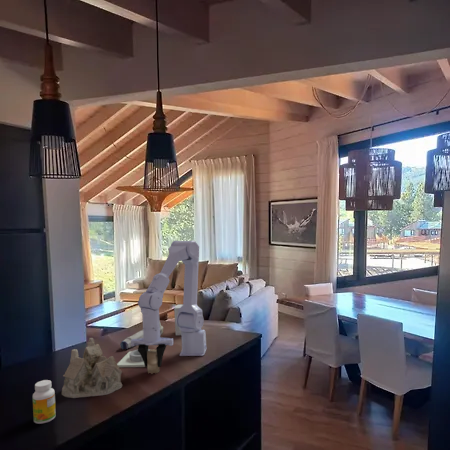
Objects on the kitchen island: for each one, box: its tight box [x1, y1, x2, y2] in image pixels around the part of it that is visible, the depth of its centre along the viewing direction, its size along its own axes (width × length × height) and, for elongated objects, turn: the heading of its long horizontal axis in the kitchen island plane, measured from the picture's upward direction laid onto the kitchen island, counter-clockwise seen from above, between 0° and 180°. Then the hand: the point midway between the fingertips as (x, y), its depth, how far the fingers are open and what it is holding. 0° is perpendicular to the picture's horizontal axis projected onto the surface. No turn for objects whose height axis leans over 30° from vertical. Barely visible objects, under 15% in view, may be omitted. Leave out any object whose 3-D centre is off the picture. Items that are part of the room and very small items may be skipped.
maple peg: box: [146, 348, 160, 375], centre depth 130 cm, size 4×4×7 cm
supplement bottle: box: [32, 379, 57, 425], centre depth 101 cm, size 5×5×10 cm
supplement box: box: [173, 304, 189, 336], centre depth 173 cm, size 7×7×13 cm
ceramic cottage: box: [61, 337, 123, 399], centre depth 118 cm, size 16×16×15 cm
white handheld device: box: [119, 322, 164, 350], centre depth 165 cm, size 5×7×25 cm
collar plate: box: [117, 348, 151, 368], centre depth 142 cm, size 14×14×3 cm
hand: (153, 365), depth 130 cm, fingers closed on maple peg, 4 cm apart
